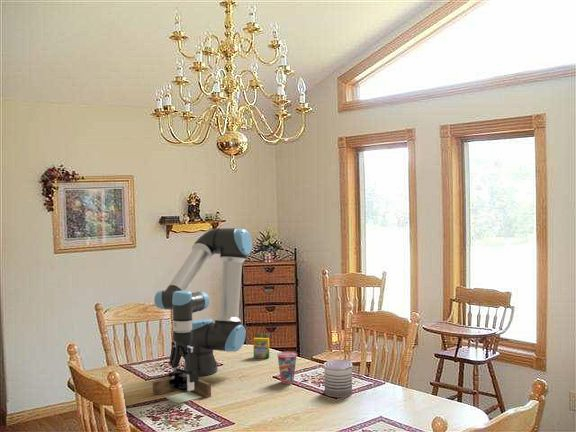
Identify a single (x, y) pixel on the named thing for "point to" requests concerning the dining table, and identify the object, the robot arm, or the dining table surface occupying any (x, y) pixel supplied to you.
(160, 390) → the brown l-shaped piece
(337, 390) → the can
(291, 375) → the cup
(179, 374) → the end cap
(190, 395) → the pad
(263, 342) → the crayon box
